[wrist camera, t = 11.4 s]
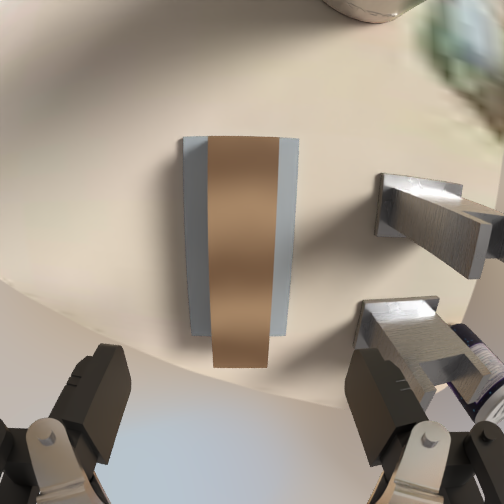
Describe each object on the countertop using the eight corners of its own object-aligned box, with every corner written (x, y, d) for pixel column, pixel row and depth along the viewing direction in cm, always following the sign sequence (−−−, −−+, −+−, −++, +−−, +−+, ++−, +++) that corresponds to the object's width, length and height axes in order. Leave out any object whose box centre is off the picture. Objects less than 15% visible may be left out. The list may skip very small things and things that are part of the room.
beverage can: (417, 360, 29) (468, 436, 18) (441, 317, 27) (506, 389, 16) (449, 361, 30) (499, 427, 18) (472, 321, 28) (532, 383, 17)
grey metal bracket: (381, 172, 22) (473, 202, 12) (458, 183, 22) (550, 216, 12) (374, 234, 24) (452, 297, 13) (450, 237, 24) (532, 288, 14)
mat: (184, 136, 20) (183, 136, 20) (297, 138, 21) (299, 138, 20) (192, 331, 26) (191, 335, 25) (284, 331, 26) (285, 335, 26)
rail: (213, 137, 20) (207, 136, 16) (271, 138, 20) (279, 137, 16) (216, 337, 26) (213, 367, 22) (263, 337, 26) (267, 367, 22)
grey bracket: (363, 300, 26) (420, 383, 15) (436, 295, 26) (502, 360, 16) (352, 345, 27) (395, 432, 17) (423, 337, 28) (476, 407, 17)
